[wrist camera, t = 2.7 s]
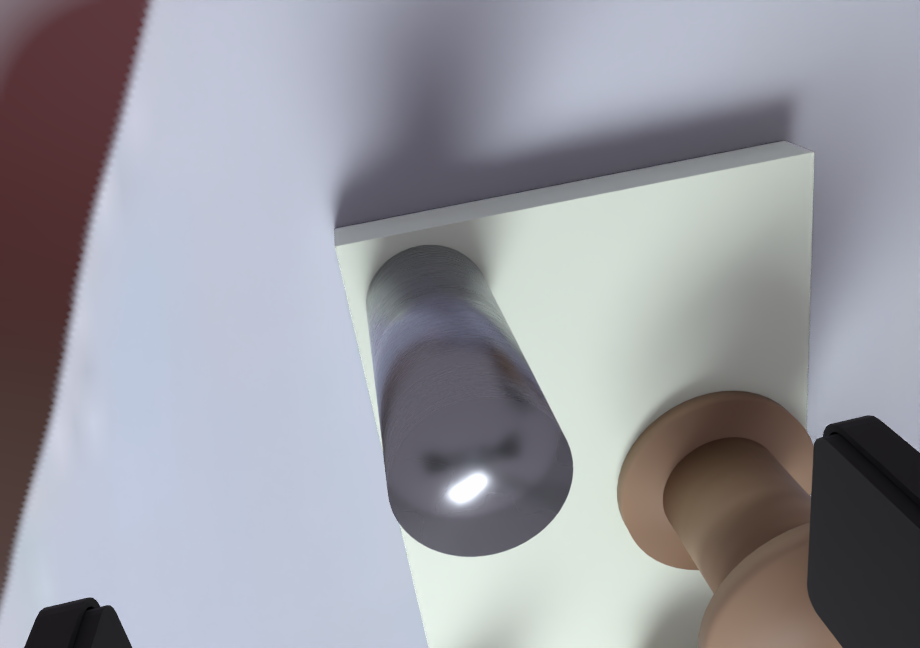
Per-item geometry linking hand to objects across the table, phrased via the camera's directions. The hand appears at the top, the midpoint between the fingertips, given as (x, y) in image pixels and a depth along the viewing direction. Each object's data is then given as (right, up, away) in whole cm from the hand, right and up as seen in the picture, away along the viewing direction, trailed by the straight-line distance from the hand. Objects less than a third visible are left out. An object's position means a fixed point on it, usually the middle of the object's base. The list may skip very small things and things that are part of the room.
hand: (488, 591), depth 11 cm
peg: (-1, +4, +10) cm, 11 cm away
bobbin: (+7, -1, +14) cm, 16 cm away
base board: (+4, -1, +15) cm, 16 cm away
